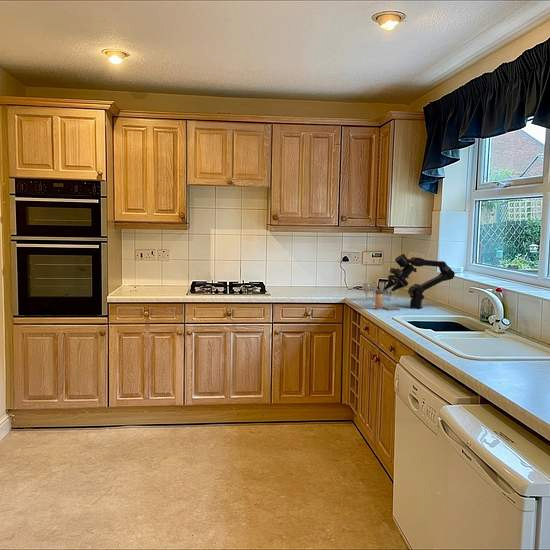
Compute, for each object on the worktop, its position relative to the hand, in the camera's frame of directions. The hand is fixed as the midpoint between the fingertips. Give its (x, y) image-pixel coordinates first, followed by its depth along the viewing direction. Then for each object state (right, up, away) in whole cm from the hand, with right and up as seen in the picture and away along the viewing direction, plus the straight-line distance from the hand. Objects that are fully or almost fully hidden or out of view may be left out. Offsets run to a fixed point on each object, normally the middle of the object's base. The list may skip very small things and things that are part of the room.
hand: (388, 289), depth 332 cm
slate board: (+1, -12, +2) cm, 12 cm away
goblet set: (+2, -9, +34) cm, 35 cm away
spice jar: (-6, -12, 0) cm, 14 cm away
